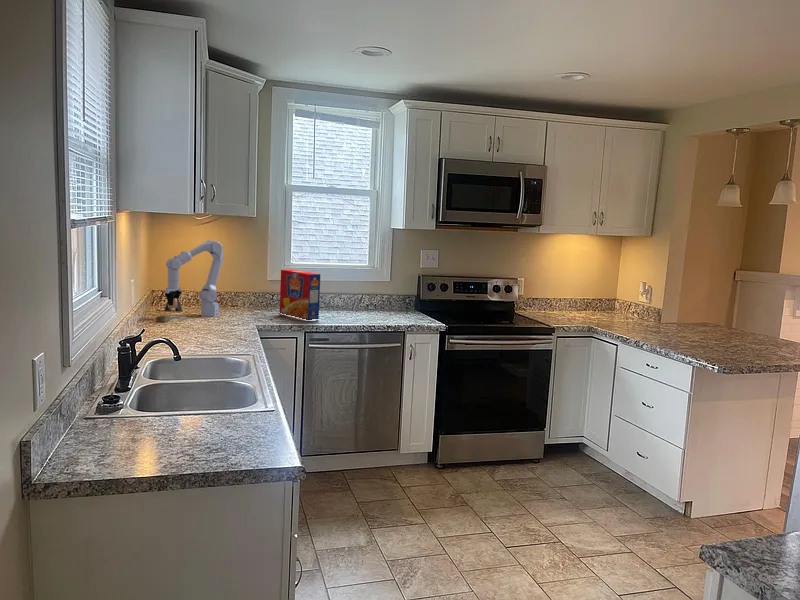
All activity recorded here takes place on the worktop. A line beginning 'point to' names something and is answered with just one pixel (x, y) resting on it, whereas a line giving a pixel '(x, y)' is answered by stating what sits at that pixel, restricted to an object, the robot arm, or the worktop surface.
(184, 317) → the letter board
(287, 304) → the pasta box
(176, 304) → the terracotta cylinder
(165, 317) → the walnut block
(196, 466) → the worktop surface
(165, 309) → the phone stand
